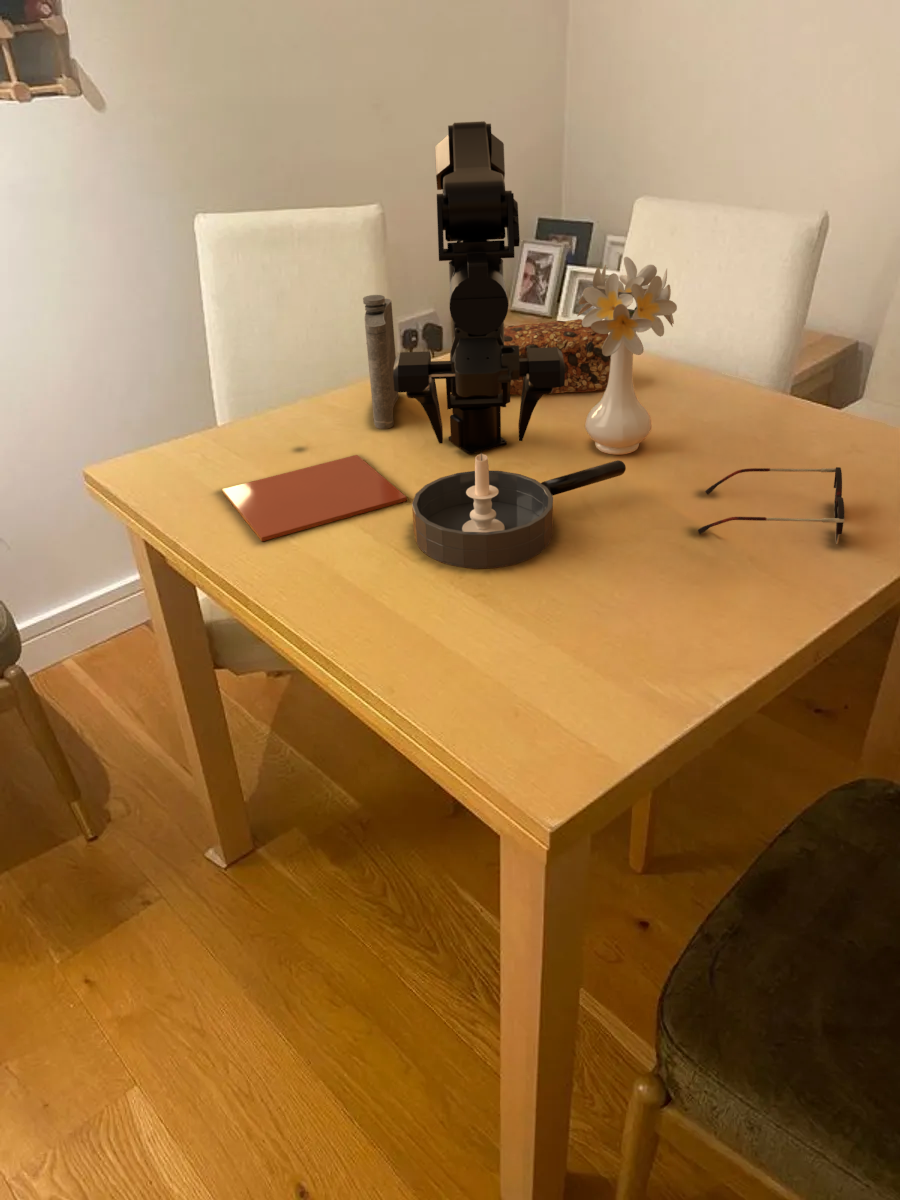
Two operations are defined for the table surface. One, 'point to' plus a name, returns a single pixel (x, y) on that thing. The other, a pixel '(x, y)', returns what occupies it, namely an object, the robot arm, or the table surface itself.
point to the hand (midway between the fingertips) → (480, 441)
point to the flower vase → (623, 350)
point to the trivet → (311, 497)
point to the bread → (565, 352)
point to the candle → (482, 500)
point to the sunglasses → (837, 513)
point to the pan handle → (585, 477)
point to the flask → (381, 358)
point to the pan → (523, 538)
